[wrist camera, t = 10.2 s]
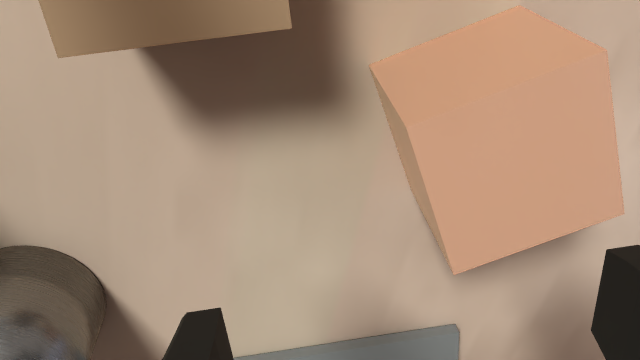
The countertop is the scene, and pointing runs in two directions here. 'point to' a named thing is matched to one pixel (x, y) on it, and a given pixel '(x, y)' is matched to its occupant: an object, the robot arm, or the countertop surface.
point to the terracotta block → (504, 134)
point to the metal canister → (47, 306)
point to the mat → (379, 347)
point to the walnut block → (155, 22)
